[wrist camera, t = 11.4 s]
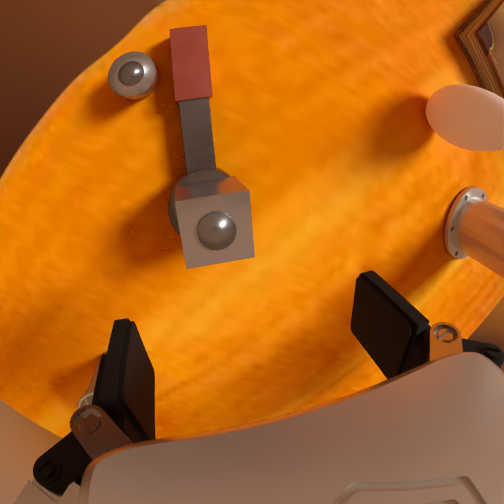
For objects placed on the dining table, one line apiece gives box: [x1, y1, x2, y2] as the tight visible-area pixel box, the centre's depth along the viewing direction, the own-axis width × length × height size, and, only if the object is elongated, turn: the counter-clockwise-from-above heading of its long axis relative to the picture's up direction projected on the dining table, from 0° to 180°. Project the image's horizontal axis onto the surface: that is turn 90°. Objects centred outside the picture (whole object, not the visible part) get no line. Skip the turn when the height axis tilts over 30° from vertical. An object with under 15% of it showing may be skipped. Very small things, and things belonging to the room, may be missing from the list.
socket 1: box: [108, 52, 158, 100], centre depth 21 cm, size 4×4×4 cm
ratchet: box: [169, 25, 230, 234], centre depth 23 cm, size 7×20×6 cm, turn 5°
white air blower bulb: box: [426, 84, 504, 151], centre depth 23 cm, size 8×8×18 cm
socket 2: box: [175, 176, 255, 269], centre depth 24 cm, size 5×5×6 cm
